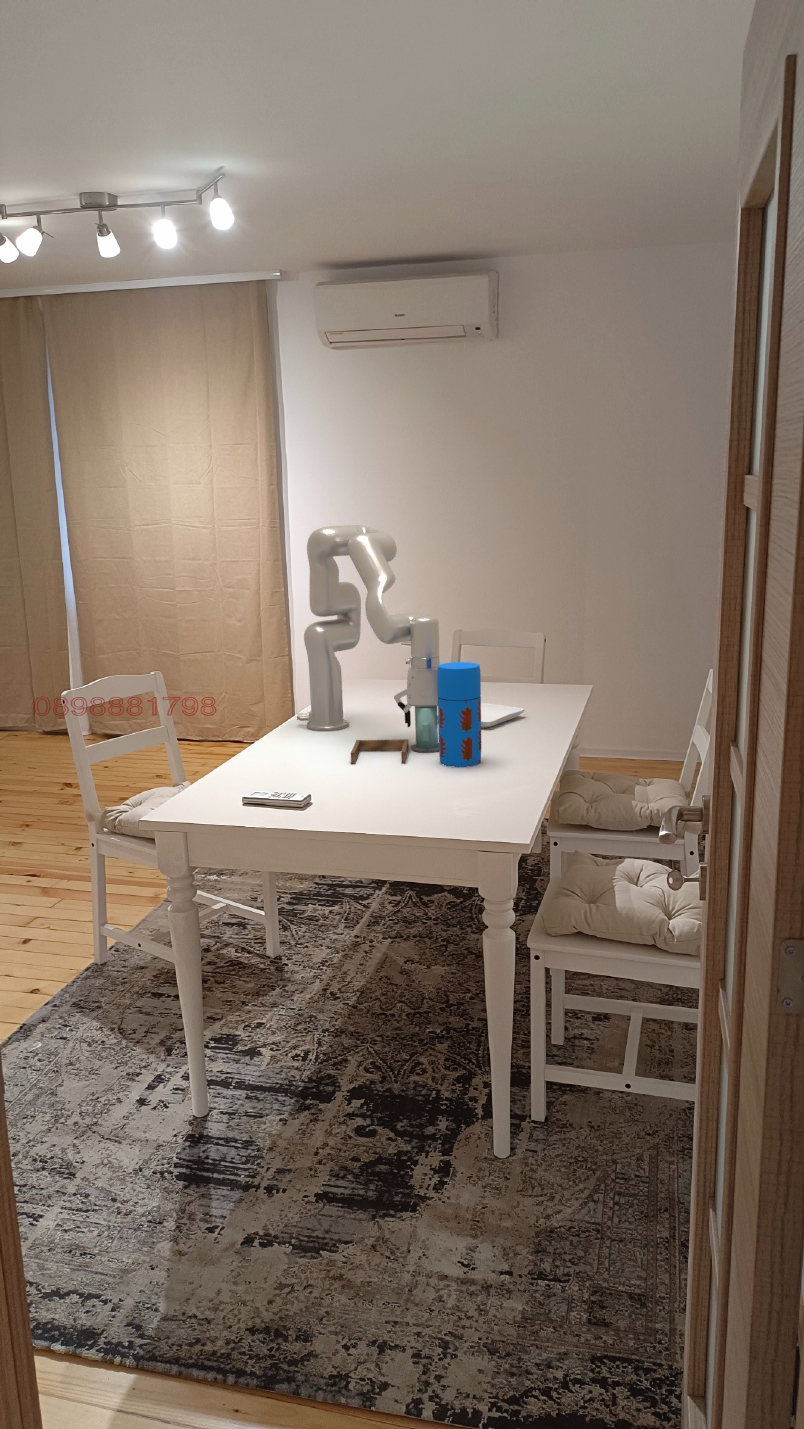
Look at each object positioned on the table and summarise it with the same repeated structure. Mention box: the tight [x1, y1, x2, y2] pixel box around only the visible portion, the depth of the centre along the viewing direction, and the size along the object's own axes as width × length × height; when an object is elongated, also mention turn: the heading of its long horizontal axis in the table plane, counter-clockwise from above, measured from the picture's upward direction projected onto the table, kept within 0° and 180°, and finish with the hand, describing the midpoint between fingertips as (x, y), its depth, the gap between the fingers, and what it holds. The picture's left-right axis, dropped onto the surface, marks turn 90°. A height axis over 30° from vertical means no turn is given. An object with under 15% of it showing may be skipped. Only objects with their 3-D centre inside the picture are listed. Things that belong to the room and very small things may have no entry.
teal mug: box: [414, 706, 439, 749], centre depth 276 cm, size 8×6×11 cm
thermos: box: [437, 661, 482, 768], centre depth 261 cm, size 11×11×25 cm
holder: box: [350, 738, 410, 765], centre depth 271 cm, size 14×14×3 cm
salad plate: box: [437, 702, 525, 729], centre depth 311 cm, size 21×21×3 cm
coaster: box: [410, 742, 439, 754], centre depth 279 cm, size 9×9×1 cm
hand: (426, 725), depth 277 cm, fingers open, 9 cm apart
